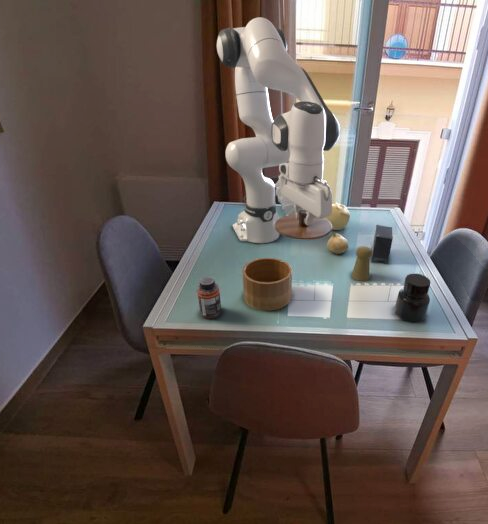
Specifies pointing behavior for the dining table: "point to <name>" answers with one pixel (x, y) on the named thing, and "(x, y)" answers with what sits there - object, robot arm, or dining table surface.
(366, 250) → the tan pawn
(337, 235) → the onion
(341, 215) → the beige round lump
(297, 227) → the lid
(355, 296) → the dining table surface
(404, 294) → the ink bottle
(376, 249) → the small box
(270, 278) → the round wooden box
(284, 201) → the spiral staircase
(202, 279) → the supplement bottle
